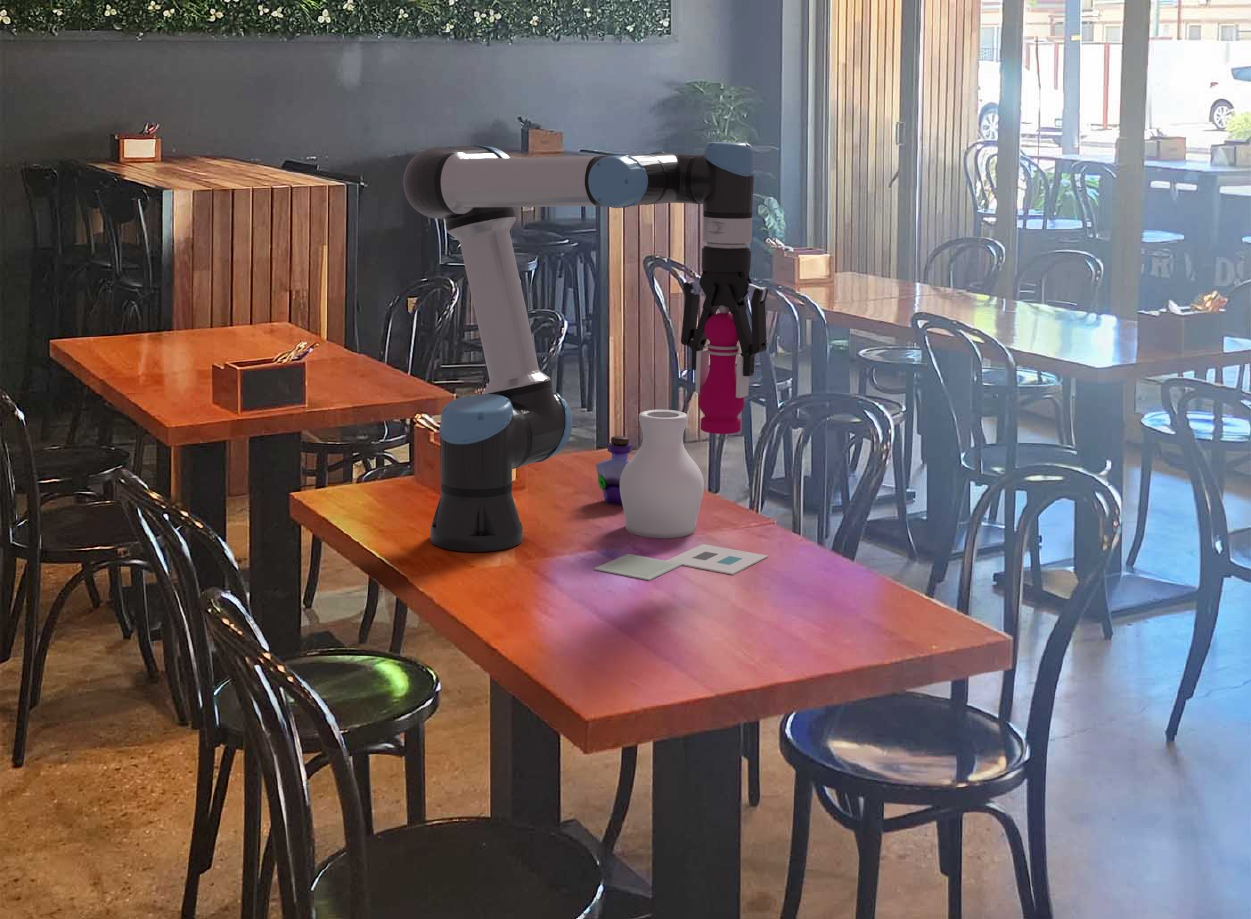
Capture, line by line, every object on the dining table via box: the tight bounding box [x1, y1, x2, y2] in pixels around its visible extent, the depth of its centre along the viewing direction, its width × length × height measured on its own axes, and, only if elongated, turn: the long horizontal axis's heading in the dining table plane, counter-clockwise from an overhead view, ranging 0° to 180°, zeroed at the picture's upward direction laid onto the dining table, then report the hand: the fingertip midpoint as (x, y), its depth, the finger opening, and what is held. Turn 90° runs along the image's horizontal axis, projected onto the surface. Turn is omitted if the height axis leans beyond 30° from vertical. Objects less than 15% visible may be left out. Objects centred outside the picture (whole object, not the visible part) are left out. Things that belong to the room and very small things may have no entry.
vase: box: [620, 409, 705, 539], centre depth 272 cm, size 14×14×20 cm
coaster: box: [593, 553, 683, 582], centre depth 252 cm, size 10×10×1 cm
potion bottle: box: [595, 435, 633, 506], centre depth 291 cm, size 9×9×12 cm
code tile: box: [665, 543, 769, 576], centre depth 257 cm, size 12×12×1 cm
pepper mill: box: [697, 305, 746, 435], centre depth 250 cm, size 7×7×20 cm
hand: (721, 393), depth 251 cm, fingers closed on pepper mill, 6 cm apart
